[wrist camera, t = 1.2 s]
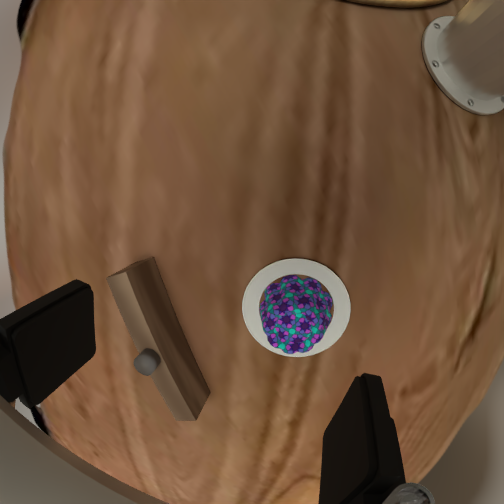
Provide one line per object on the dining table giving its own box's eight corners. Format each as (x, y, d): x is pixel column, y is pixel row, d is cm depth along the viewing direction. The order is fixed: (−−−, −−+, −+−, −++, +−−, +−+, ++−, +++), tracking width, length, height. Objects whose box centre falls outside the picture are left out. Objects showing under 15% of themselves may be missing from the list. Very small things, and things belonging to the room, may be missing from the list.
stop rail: (153, 256, 34) (114, 278, 27) (210, 392, 38) (190, 431, 30) (134, 262, 35) (95, 283, 28) (192, 393, 39) (170, 430, 31)
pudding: (324, 365, 34) (324, 392, 29) (231, 333, 35) (219, 357, 30) (366, 278, 30) (376, 297, 25) (261, 240, 32) (252, 253, 27)
